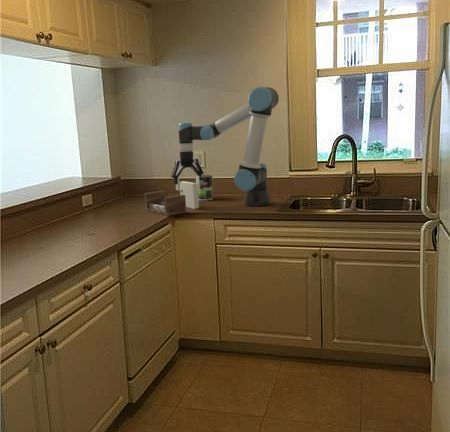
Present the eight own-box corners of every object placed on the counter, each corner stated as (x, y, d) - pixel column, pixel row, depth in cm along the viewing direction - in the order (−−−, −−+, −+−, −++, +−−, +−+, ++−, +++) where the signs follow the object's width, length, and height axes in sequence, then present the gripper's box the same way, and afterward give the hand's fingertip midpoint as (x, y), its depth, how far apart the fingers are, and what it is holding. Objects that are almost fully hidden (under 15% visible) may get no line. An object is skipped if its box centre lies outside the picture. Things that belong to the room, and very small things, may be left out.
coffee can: (210, 200, 315) (209, 177, 312) (194, 200, 318) (192, 177, 315) (215, 197, 325) (214, 174, 322) (199, 197, 328) (198, 175, 325)
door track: (186, 212, 284) (185, 195, 282) (167, 216, 277) (165, 198, 275) (164, 206, 303) (162, 190, 301) (145, 210, 296) (144, 193, 294)
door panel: (198, 208, 294) (197, 183, 291) (194, 209, 292) (192, 184, 290) (185, 205, 305) (184, 181, 303) (180, 205, 304) (179, 181, 301)
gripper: (201, 148, 303) (202, 185, 307) (163, 152, 288) (165, 190, 293) (208, 149, 297) (210, 186, 301) (170, 153, 282) (172, 192, 287)
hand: (188, 188), depth 297 cm, fingers open, 13 cm apart
